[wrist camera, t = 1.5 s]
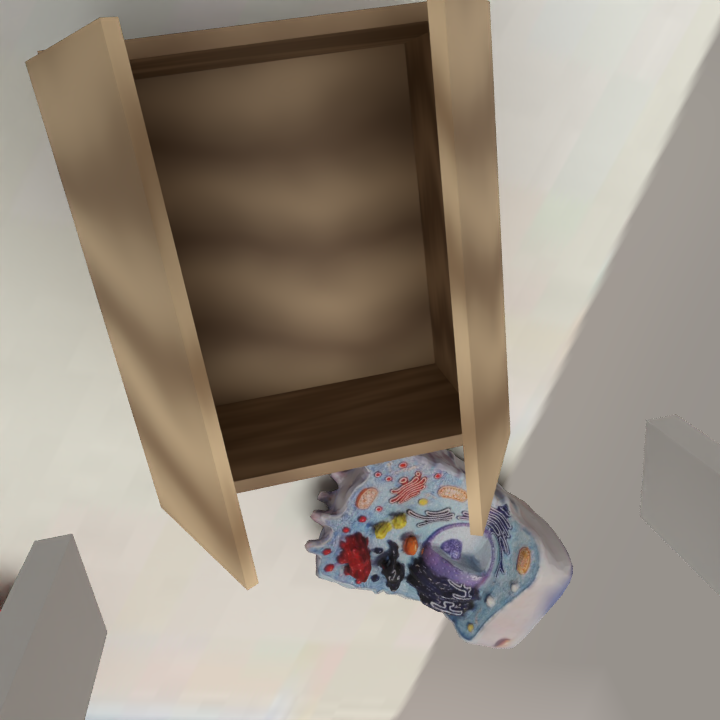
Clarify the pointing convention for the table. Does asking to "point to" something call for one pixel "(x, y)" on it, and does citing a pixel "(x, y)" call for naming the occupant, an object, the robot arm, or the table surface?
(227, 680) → the table surface
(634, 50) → the table surface
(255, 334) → the carton
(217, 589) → the table surface
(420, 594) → the cell model
